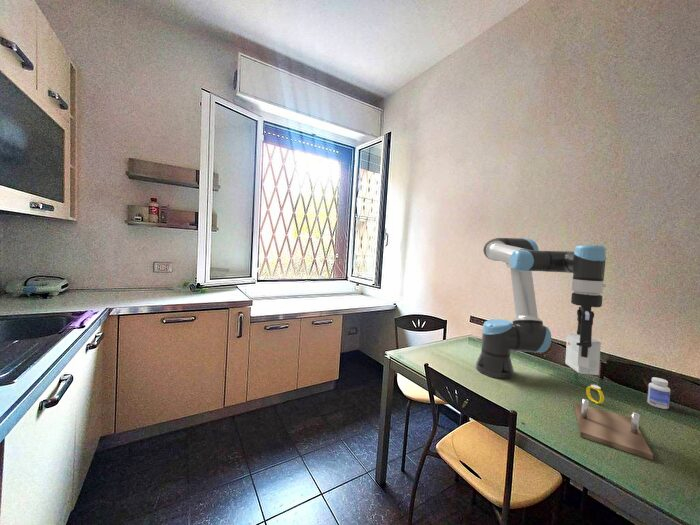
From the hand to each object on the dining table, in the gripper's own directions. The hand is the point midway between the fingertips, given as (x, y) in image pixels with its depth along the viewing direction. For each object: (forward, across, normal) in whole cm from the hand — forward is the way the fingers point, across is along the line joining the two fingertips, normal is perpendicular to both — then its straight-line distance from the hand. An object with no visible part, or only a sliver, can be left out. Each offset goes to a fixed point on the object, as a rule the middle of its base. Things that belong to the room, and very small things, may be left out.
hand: (581, 361), depth 89 cm
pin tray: (+20, +1, -7) cm, 21 cm away
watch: (+20, +20, -6) cm, 29 cm away
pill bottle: (+20, +33, -24) cm, 45 cm away
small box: (+3, 0, 0) cm, 3 cm away
